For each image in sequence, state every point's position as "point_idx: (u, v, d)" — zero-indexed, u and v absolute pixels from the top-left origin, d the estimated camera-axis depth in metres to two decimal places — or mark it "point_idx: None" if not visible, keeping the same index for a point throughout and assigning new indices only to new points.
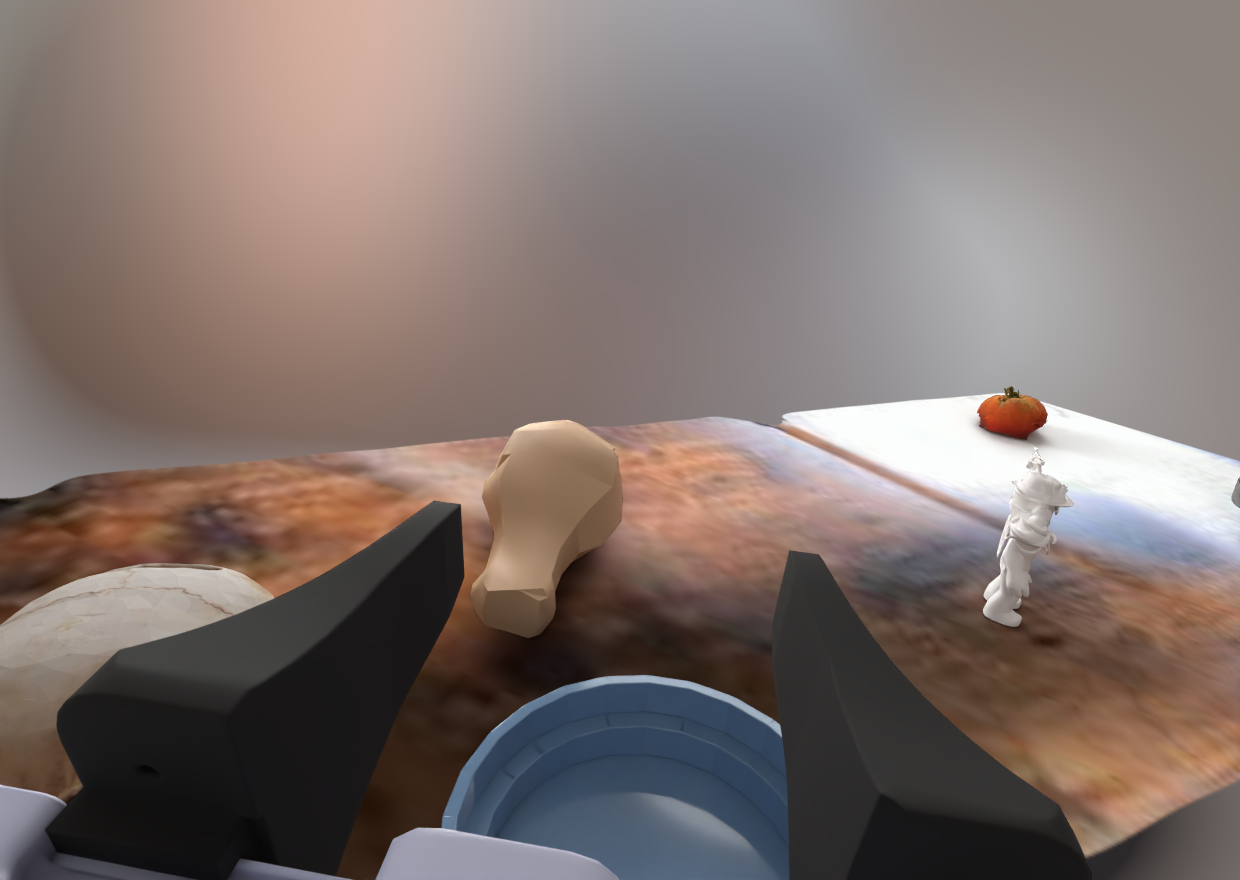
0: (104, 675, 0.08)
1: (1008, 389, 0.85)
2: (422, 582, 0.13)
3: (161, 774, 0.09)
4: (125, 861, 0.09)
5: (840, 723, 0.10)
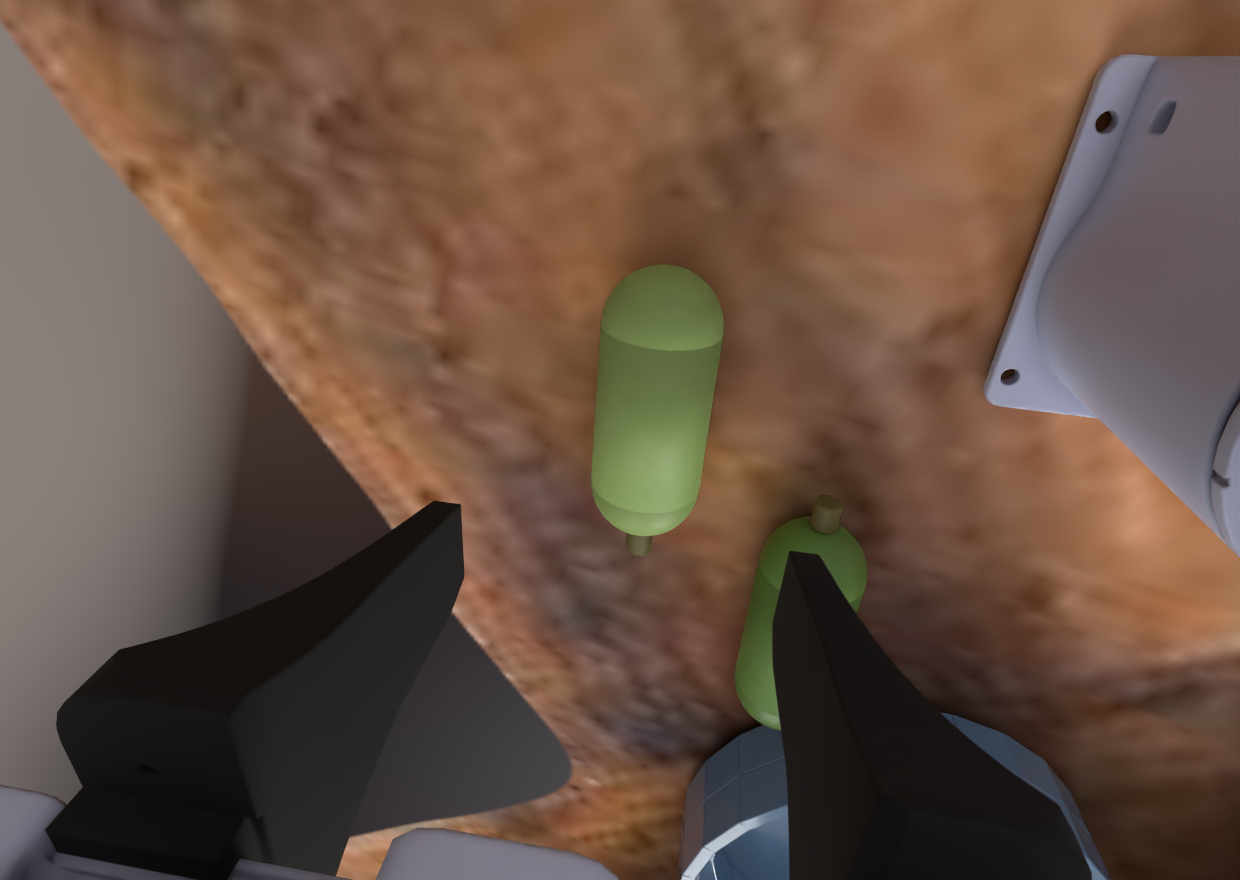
0: (103, 676, 0.08)
1: None
2: (422, 582, 0.13)
3: (161, 773, 0.09)
4: (125, 861, 0.09)
5: (840, 723, 0.10)
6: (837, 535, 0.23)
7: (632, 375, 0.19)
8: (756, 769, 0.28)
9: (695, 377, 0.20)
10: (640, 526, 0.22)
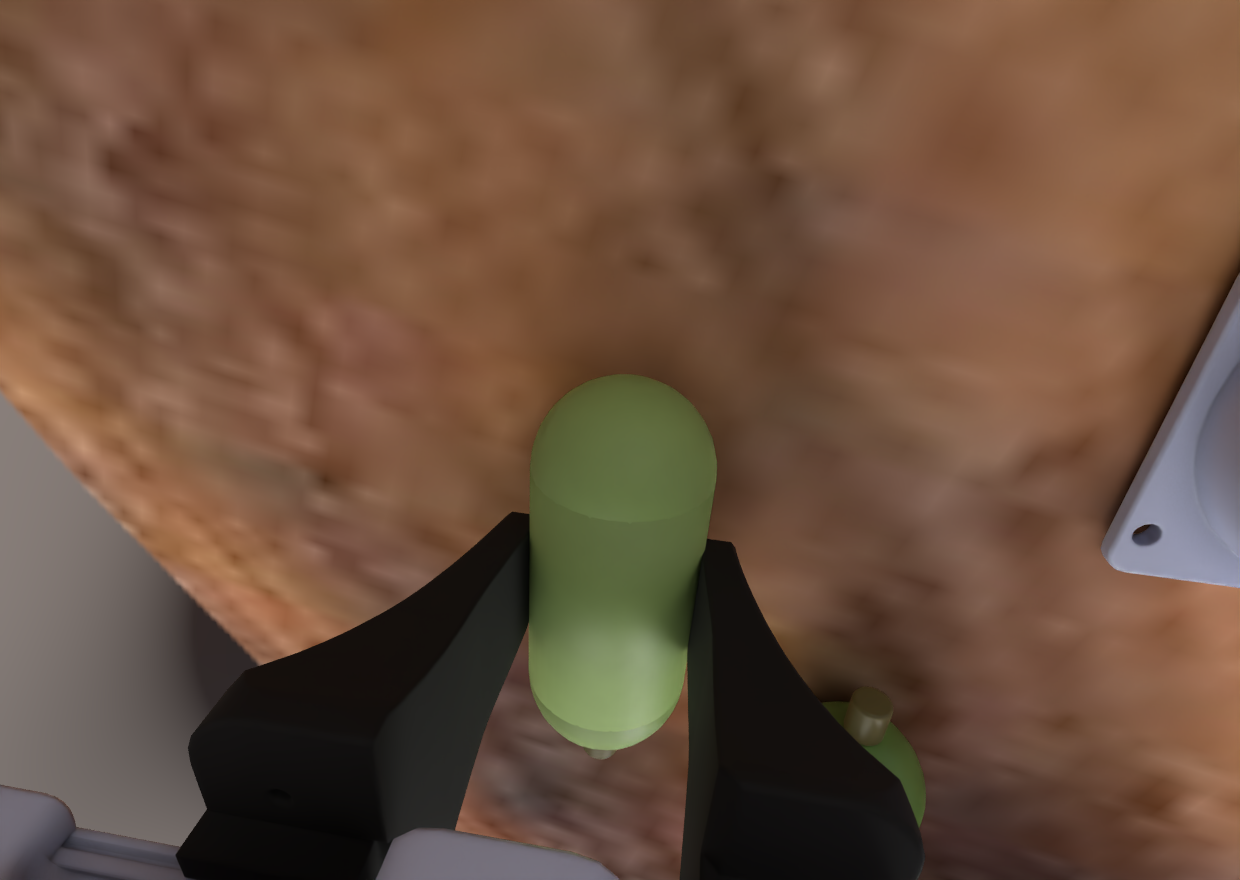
0: (238, 698, 0.08)
1: None
2: (509, 595, 0.13)
3: (291, 797, 0.09)
4: None
5: (711, 703, 0.10)
6: (883, 746, 0.16)
7: (575, 553, 0.12)
8: None
9: (673, 554, 0.13)
10: (597, 744, 0.15)
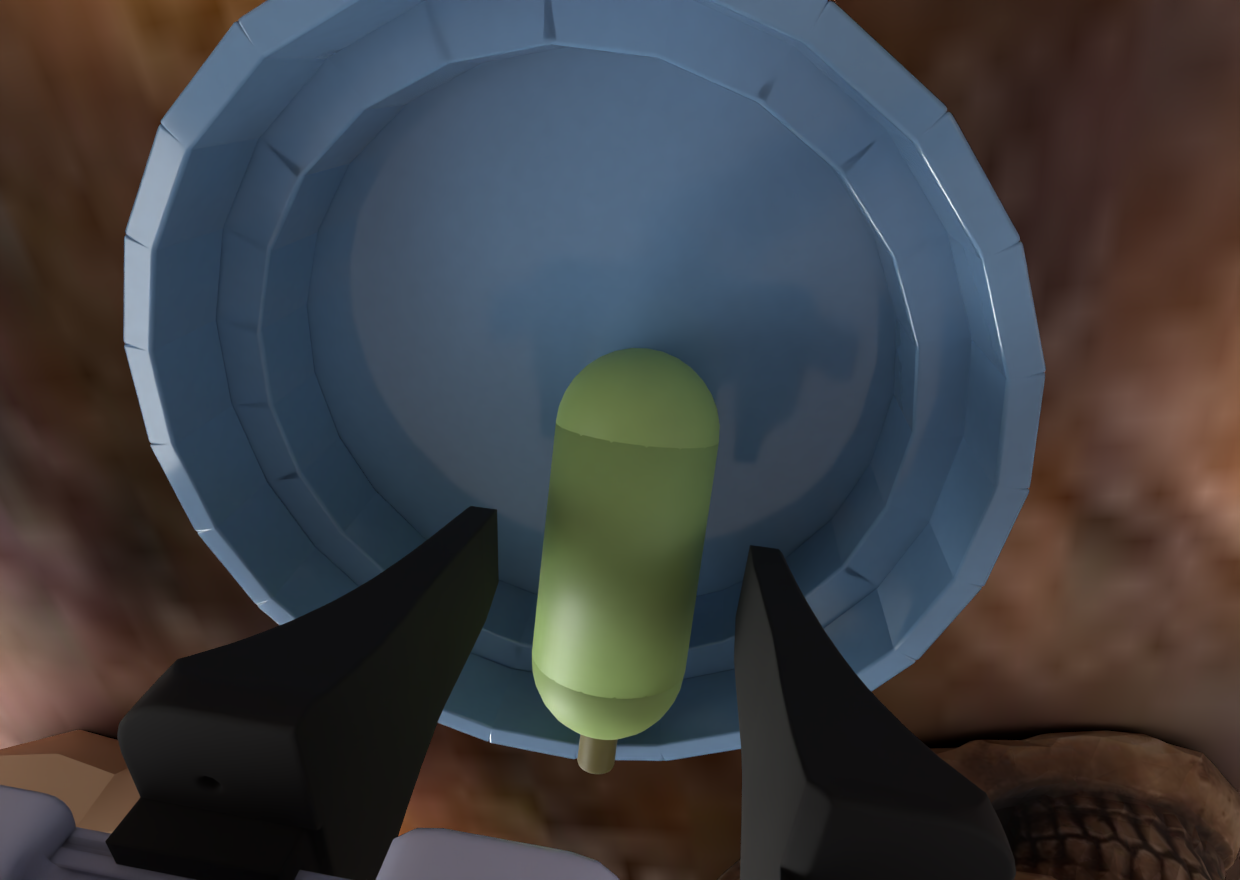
0: (166, 686, 0.08)
1: None
2: (463, 588, 0.13)
3: (222, 784, 0.09)
4: (185, 873, 0.09)
5: (782, 714, 0.10)
6: None
7: (594, 483, 0.14)
8: None
9: (682, 490, 0.14)
10: (599, 720, 0.15)
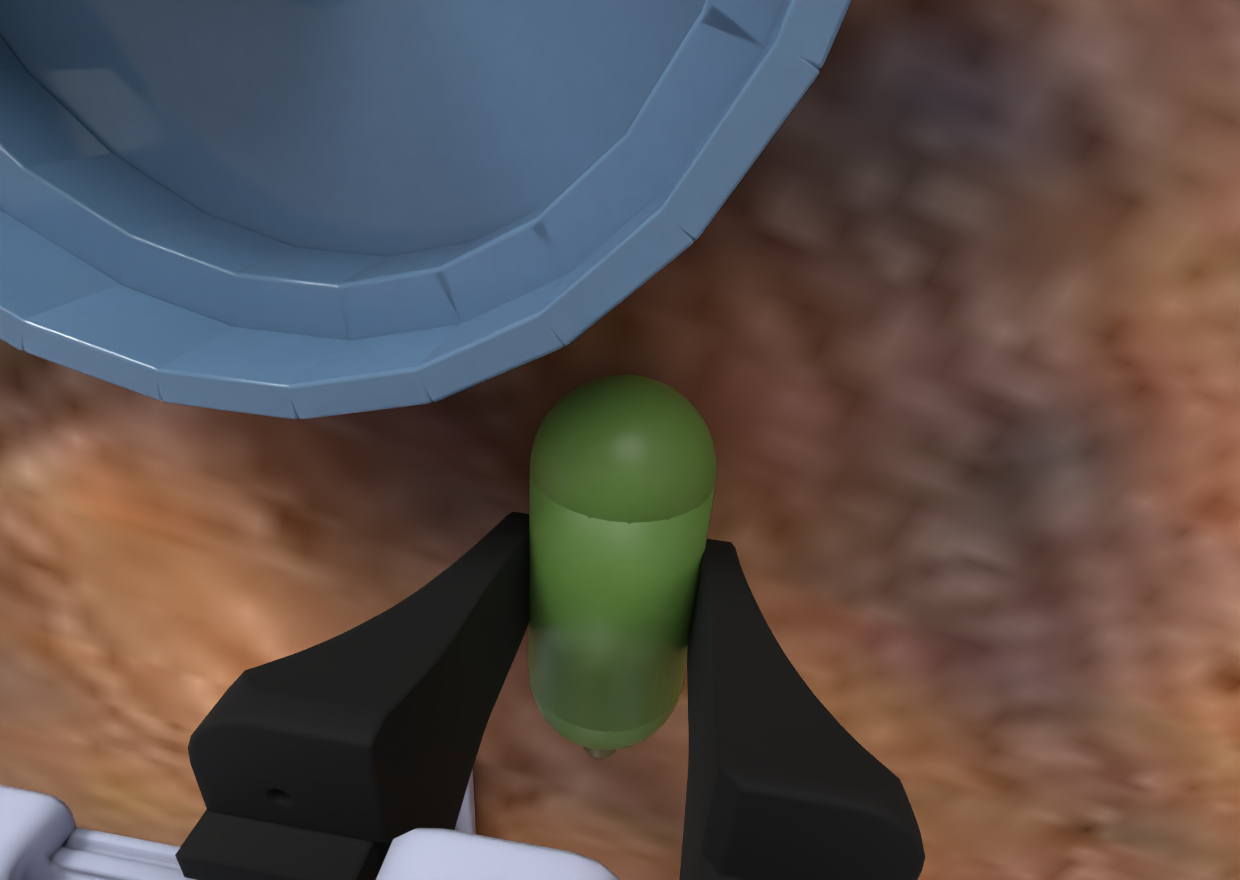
0: (238, 699, 0.08)
1: None
2: (509, 595, 0.13)
3: (290, 797, 0.09)
4: None
5: (711, 702, 0.10)
6: None
7: None
8: None
9: None
10: None
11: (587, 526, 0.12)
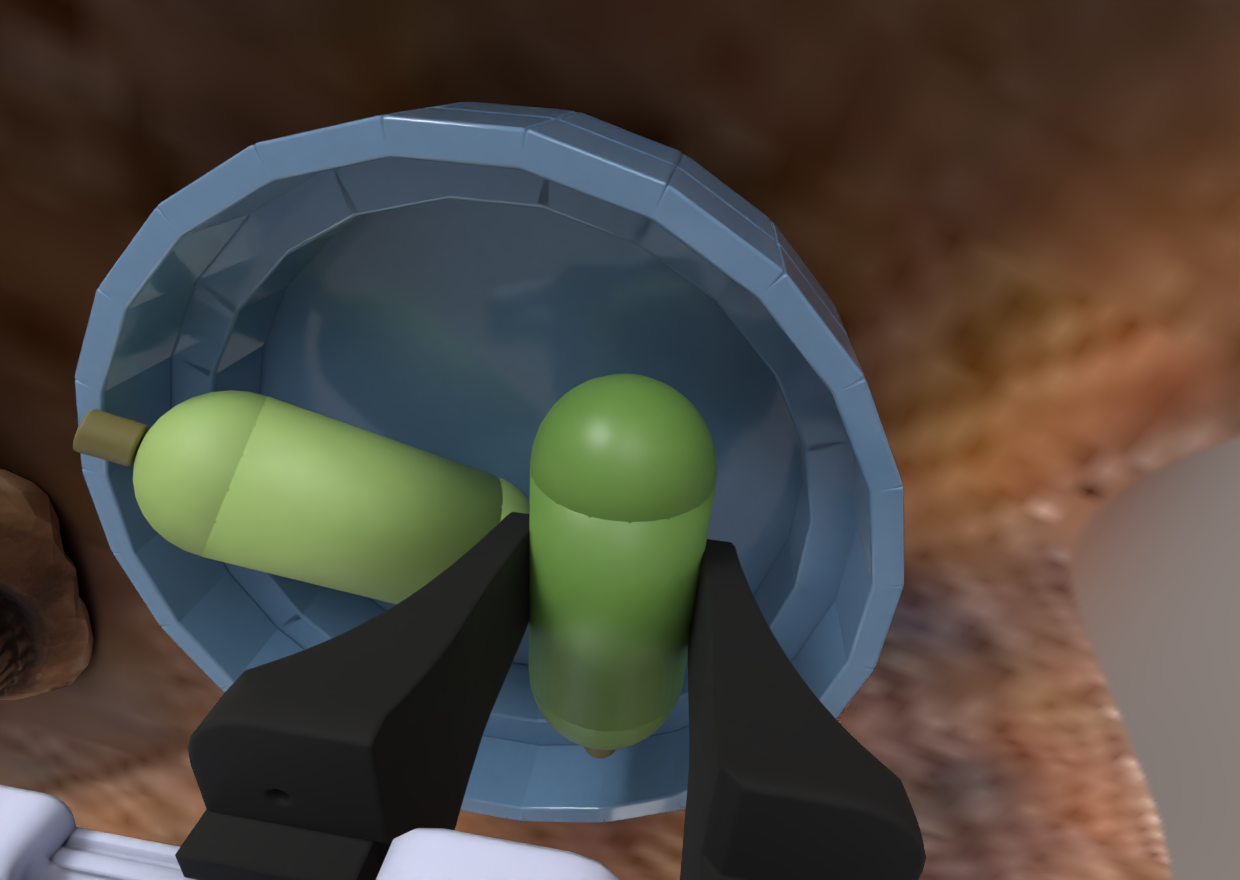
0: (238, 699, 0.08)
1: None
2: (509, 595, 0.13)
3: (290, 797, 0.09)
4: None
5: (712, 703, 0.10)
6: None
7: (441, 571, 0.15)
8: None
9: None
10: (174, 523, 0.13)
11: (587, 526, 0.12)
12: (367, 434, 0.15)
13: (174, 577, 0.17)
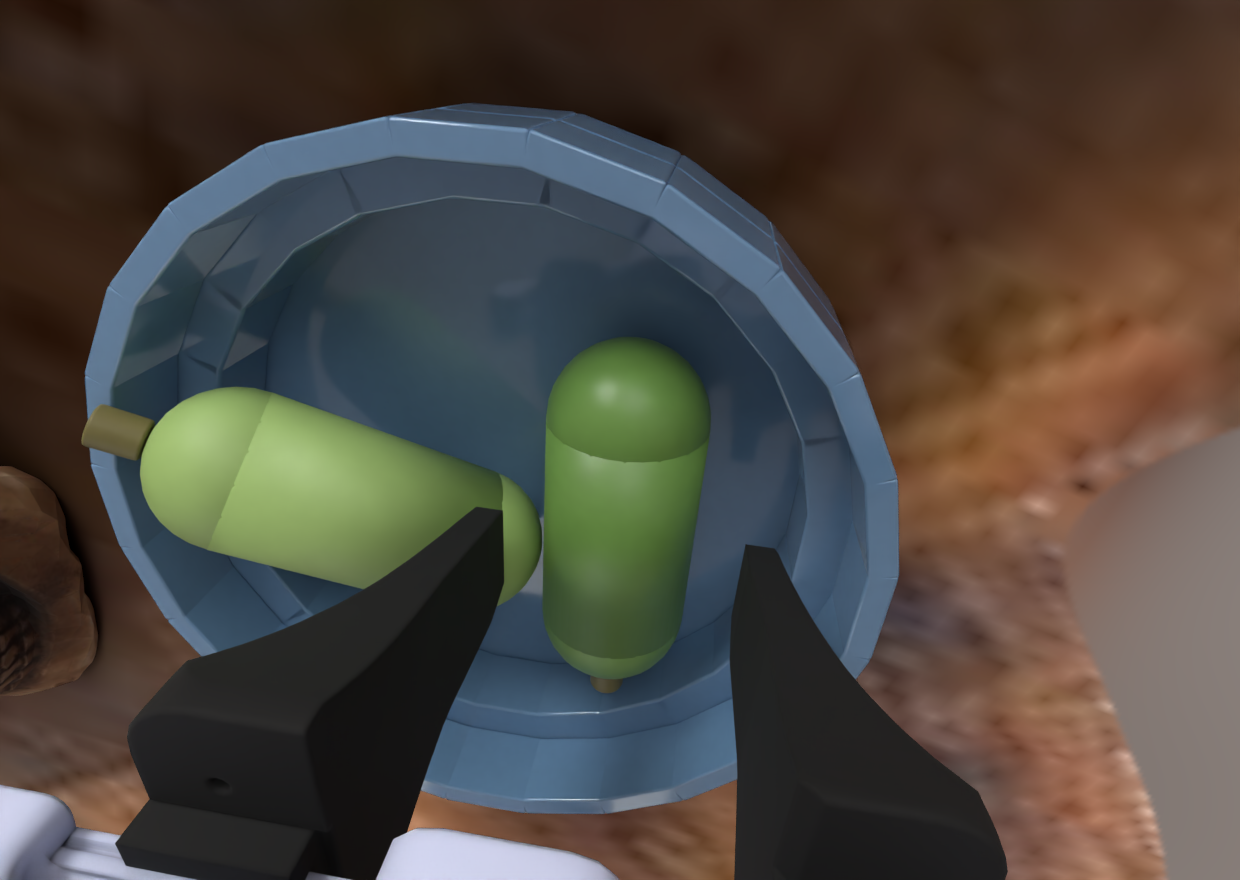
0: (176, 688, 0.08)
1: None
2: (469, 589, 0.13)
3: (231, 786, 0.09)
4: (195, 875, 0.09)
5: (775, 713, 0.10)
6: None
7: None
8: None
9: None
10: (180, 517, 0.14)
11: (589, 464, 0.14)
12: (370, 431, 0.16)
13: (181, 571, 0.17)
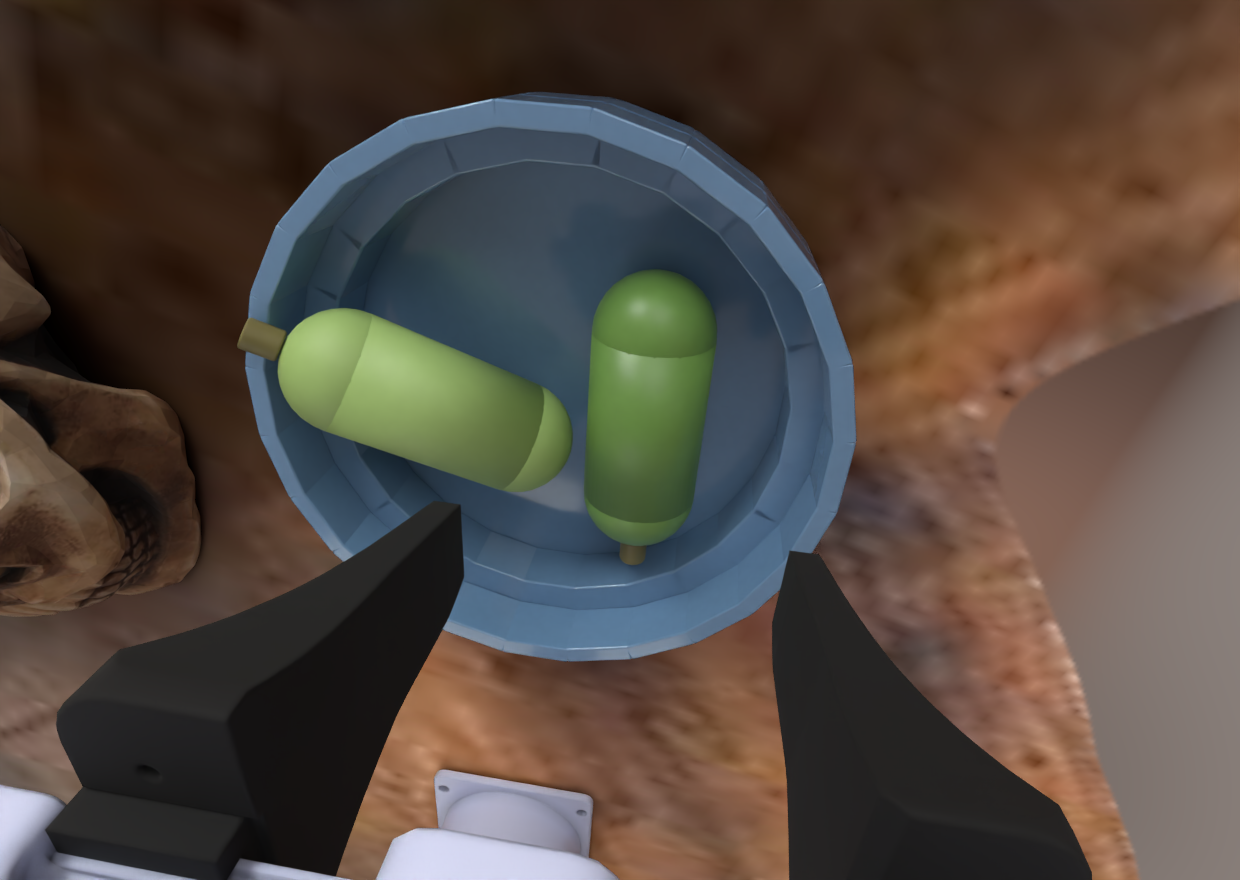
0: (104, 675, 0.08)
1: None
2: (422, 582, 0.13)
3: (161, 774, 0.09)
4: (125, 861, 0.09)
5: (840, 723, 0.10)
6: None
7: (498, 451, 0.20)
8: None
9: (473, 480, 0.22)
10: (311, 403, 0.18)
11: (627, 361, 0.19)
12: (444, 346, 0.20)
13: (301, 459, 0.22)
